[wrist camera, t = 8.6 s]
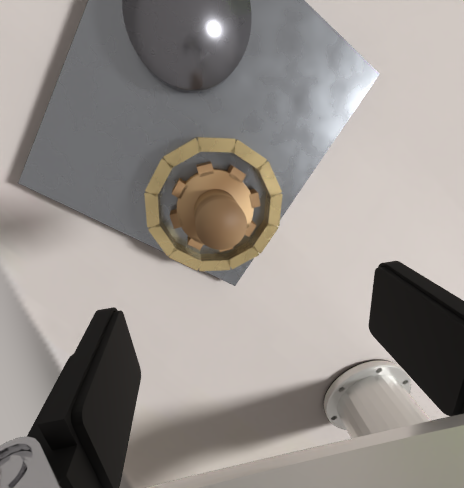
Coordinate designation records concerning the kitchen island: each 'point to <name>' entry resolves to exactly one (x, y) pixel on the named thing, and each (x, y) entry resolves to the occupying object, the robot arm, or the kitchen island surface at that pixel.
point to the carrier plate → (193, 113)
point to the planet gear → (214, 207)
